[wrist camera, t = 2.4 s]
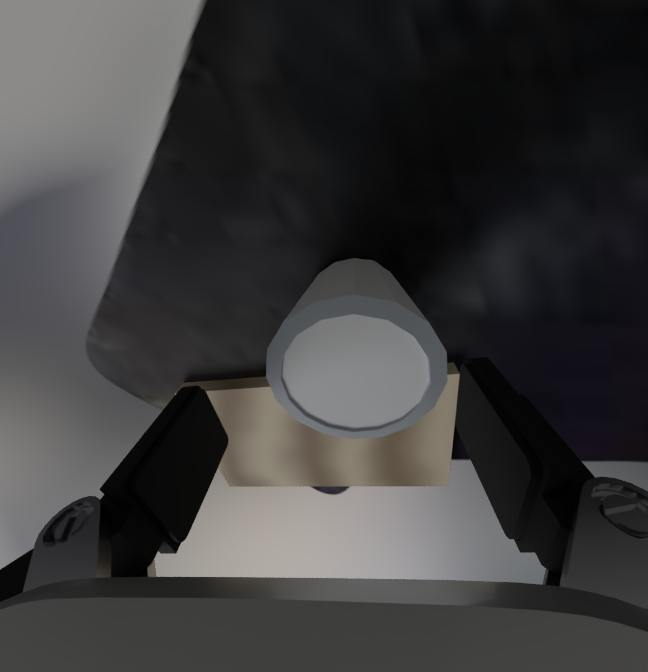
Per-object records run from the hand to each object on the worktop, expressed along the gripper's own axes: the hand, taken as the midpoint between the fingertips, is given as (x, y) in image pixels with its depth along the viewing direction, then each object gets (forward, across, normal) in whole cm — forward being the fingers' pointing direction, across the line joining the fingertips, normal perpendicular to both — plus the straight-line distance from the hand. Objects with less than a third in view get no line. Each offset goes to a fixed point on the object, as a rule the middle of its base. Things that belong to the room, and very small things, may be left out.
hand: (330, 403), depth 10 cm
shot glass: (+8, -1, -1) cm, 8 cm away
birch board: (+8, +3, +10) cm, 13 cm away
